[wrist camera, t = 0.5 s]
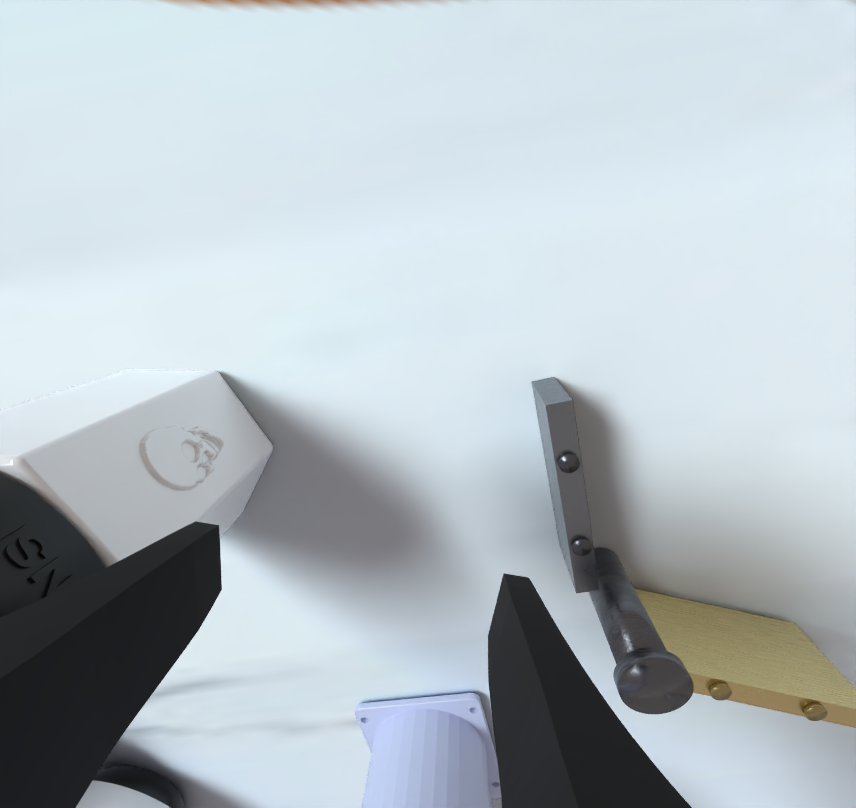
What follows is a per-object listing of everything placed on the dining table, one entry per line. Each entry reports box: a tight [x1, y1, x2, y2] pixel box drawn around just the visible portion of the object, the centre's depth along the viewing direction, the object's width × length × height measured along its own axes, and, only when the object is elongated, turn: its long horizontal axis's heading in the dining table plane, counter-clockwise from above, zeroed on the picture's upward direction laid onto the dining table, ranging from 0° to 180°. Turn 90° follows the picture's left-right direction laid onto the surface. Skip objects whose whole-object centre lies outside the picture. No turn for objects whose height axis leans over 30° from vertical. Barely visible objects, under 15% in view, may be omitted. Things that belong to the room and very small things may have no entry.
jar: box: [0, 369, 273, 617], centre depth 15 cm, size 9×8×12 cm
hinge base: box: [532, 377, 694, 714], centre depth 17 cm, size 12×3×7 cm, turn 14°
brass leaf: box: [635, 589, 856, 728], centre depth 19 cm, size 9×1×5 cm, turn 79°
